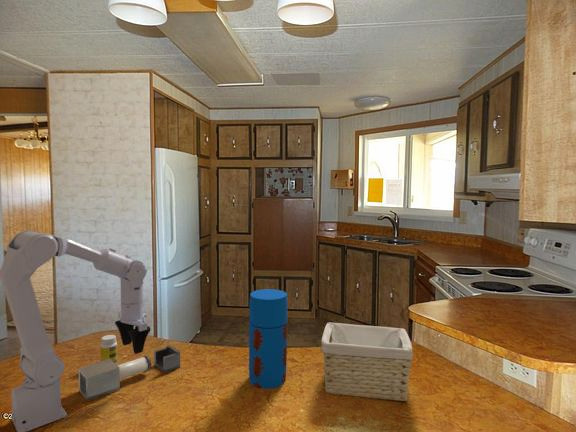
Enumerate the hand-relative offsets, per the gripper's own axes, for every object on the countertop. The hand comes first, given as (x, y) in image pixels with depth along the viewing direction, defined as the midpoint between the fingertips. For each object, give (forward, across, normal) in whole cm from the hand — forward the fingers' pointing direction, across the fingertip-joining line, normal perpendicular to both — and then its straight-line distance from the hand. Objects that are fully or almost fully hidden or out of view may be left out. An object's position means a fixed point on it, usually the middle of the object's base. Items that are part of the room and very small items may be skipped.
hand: (132, 348), depth 105 cm
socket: (+9, 0, -10) cm, 14 cm away
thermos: (+9, -27, -27) cm, 40 cm away
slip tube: (+8, 0, +4) cm, 8 cm away
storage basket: (+9, -48, -45) cm, 67 cm away
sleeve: (+9, 0, +9) cm, 13 cm away
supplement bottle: (+9, +14, +2) cm, 17 cm away
